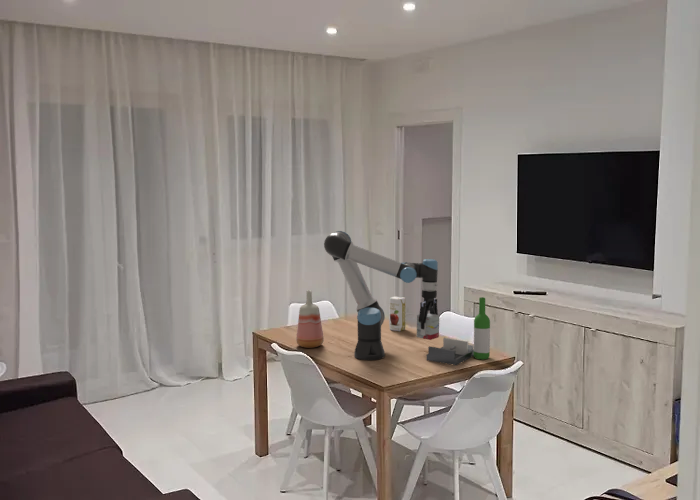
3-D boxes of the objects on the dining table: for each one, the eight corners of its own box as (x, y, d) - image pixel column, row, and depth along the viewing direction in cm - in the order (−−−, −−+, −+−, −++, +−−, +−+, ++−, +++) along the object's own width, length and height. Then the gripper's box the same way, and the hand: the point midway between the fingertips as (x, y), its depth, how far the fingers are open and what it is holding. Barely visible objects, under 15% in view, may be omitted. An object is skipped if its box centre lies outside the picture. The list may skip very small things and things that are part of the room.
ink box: (439, 337, 339) (440, 314, 337) (429, 340, 333) (430, 317, 331) (425, 334, 345) (426, 311, 343) (415, 337, 338) (416, 314, 337)
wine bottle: (472, 355, 330) (473, 296, 326) (488, 355, 330) (489, 296, 326) (474, 360, 322) (475, 299, 318) (490, 360, 322) (491, 299, 318)
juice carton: (394, 327, 390) (394, 295, 388) (407, 329, 385) (407, 297, 383) (387, 330, 384) (387, 297, 382) (400, 332, 379) (400, 299, 377)
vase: (290, 346, 351) (289, 291, 347) (310, 341, 361) (309, 287, 358) (309, 351, 341) (308, 294, 337) (329, 345, 351) (328, 290, 348)
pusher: (468, 355, 327) (468, 341, 327) (463, 357, 323) (463, 343, 322) (444, 351, 335) (444, 337, 334) (439, 353, 330) (439, 340, 329)
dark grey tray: (475, 355, 331) (475, 341, 330) (456, 365, 314) (456, 351, 313) (446, 350, 340) (446, 337, 339) (426, 360, 323) (426, 346, 322)
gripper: (425, 293, 325) (423, 338, 327) (445, 287, 342) (444, 330, 345) (412, 291, 329) (410, 336, 332) (432, 286, 347) (431, 328, 349)
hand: (427, 333), depth 338 cm, fingers closed on ink box, 9 cm apart
